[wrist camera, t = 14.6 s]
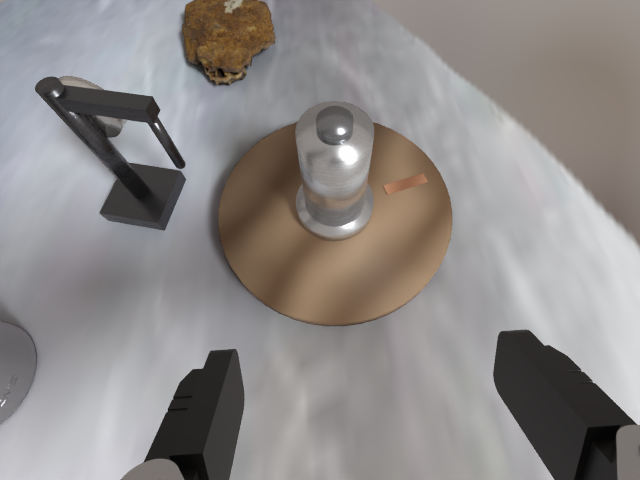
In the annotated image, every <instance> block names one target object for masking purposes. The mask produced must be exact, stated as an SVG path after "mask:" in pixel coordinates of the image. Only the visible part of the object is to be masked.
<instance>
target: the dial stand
mask: <svg viewBox="0 0 640 480" xmlns="http://www.w3.org/2000/svg"><path fill="white" fill-rule="evenodd" d="M35 90H36V92H37V93H38V94H39V95H40V96H41V97H42V99H43V100H44V101H45V102H46V103H47V104H48V105H49V106H50V107H51V108H52V109H53V110H54V111H55V112H56V113H57V115H58V116H59V117H60V118H61V119H62V120H63V121H64V122H65V123H66V124H67V125H68V126H69V127H70V128H71V130H72V131H73V132H74V133H75V134H76V135H77V136H78V137H79V138H80V139H81V140H82V141H83V142H84V143H85V144H86V146H87V147H88V148H89V149H90V150H91V151H92V152H93V153H94V154H95V155H96V156H97V157H98V158H99V159H100V161H101V162H102V163H103V164H104V165H105V166H106V167H107V168H108V169H109V170H110V171H111V172H112V173H113V174H114V175H115V177H116V178H117V180H116V182H115V184H114V186H113V188H112V190H111V192H110V194H109V196H108V198H107V200H106V201H105V203H104V205H103V207H102V209H101V211H100V214H101V215H102V216H104V217H105V218H106V219H107V220H109V221H114V222H120V223H126V224H131V225H137V226H143V227H149V228H154V229H160V230H165V229H166V226H167V224H168V221H169V219H170V217H171V214H172V212H173V209H174V207H175V205H176V202H177V200H178V197H179V195H180V193H181V190H182V188H183V185H184V183H185V181H186V178H185V177H184V175H183V174H182V172H181V171H179V170H172V169H166V168H159V167H153V166H146V165H140V164H134V163H128V162H127V161H126V159H125V158H124V157H123V156H122V155H121V153H120V152H119V151H118V150H117V149H116V147H115V146H114V145H113V144H112V143H111V141H110V140H109V139H108V138H107V137H116V136H118V135H119V134H120V132H121V130H122V128H123V126H124V125H125V123H126V121H127V120H132V121H139V122H146V123H148V124H149V126H150V127H151V129H152V131H153V132H154V134H155V135H156V137H157V138H158V140H159V141H160V143H161V144H162V146H163V147H164V149H165V151H166V152H167V154H168V155H169V157H170V158H171V160H172V161H173V163H174V164H175V166H176V167H177V168H178V169H183V168H184V167H185V161H184V160H183V158H182V156H181V155H180V153H179V151H178V150H177V148H176V146H175V145H174V143H173V141H172V140H171V138H170V136H169V135H168V133H167V131H166V130H165V128H164V126H163V125H162V123H161V121H160V120H159V118H158V117H157V116H158V114H159V112H160V109H159V107H158V105H157V103H156V102H155V100H154V98H153V97H152V96H144V95H137V94H129V93H122V92H114V91H107V90H104V89H102V88H101V87H99V86H97V85H95V84H93V83H91V82H89V81H87V80H84V79H81V78H78V77H73V76H63V77H60V78H56V77H47V78H44V79H42V80H40V81H39V82H38V83H37V85H36V87H35Z"/></svg>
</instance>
